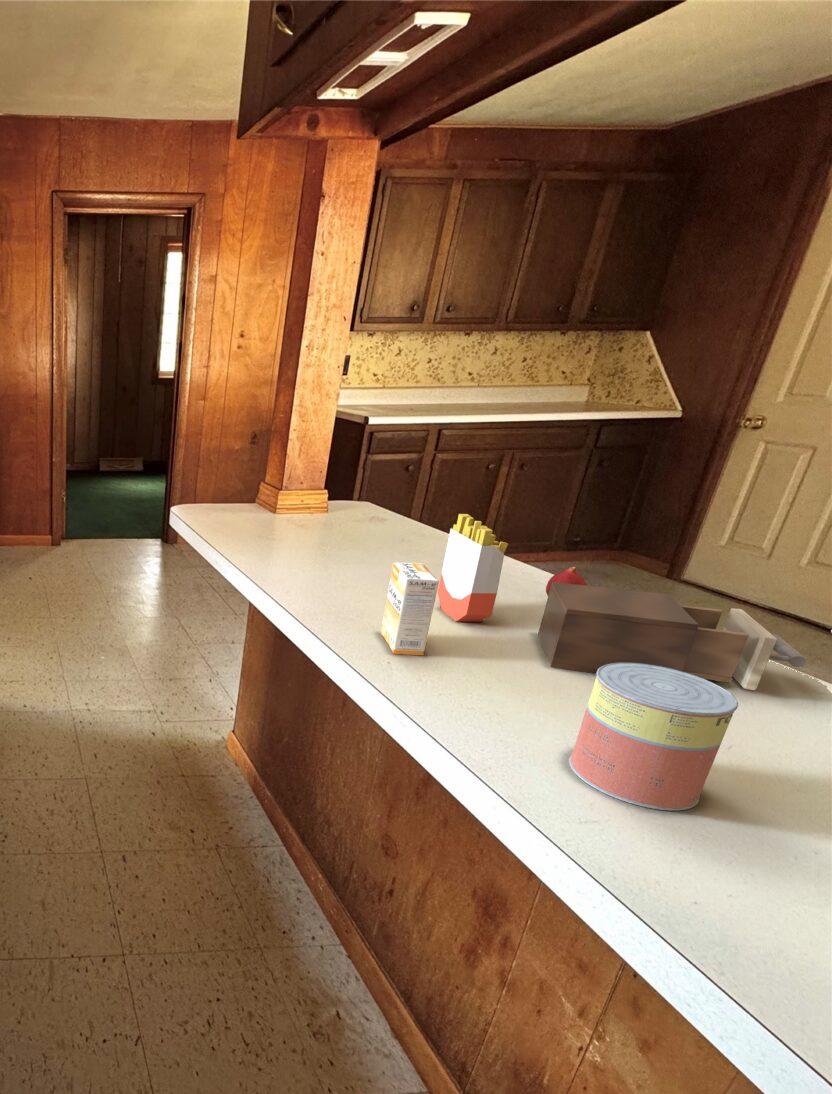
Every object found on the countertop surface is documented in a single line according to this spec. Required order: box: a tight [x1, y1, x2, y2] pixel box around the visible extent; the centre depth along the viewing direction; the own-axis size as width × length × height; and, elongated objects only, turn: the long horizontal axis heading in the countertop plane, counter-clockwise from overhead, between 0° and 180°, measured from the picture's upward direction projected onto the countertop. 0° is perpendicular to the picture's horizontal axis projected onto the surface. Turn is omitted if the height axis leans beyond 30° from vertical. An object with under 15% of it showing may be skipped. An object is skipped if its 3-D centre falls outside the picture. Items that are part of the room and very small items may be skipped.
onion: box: [545, 566, 588, 597], centre depth 120 cm, size 6×6×8 cm
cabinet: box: [537, 582, 699, 675], centre depth 101 cm, size 15×13×10 cm
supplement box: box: [380, 561, 440, 656], centre depth 107 cm, size 8×5×13 cm, turn 167°
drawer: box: [679, 604, 807, 691], centre depth 96 cm, size 18×11×8 cm, turn 62°
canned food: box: [568, 663, 739, 812], centre depth 73 cm, size 11×11×12 cm
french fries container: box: [437, 513, 509, 623], centre depth 116 cm, size 5×11×18 cm, turn 174°
